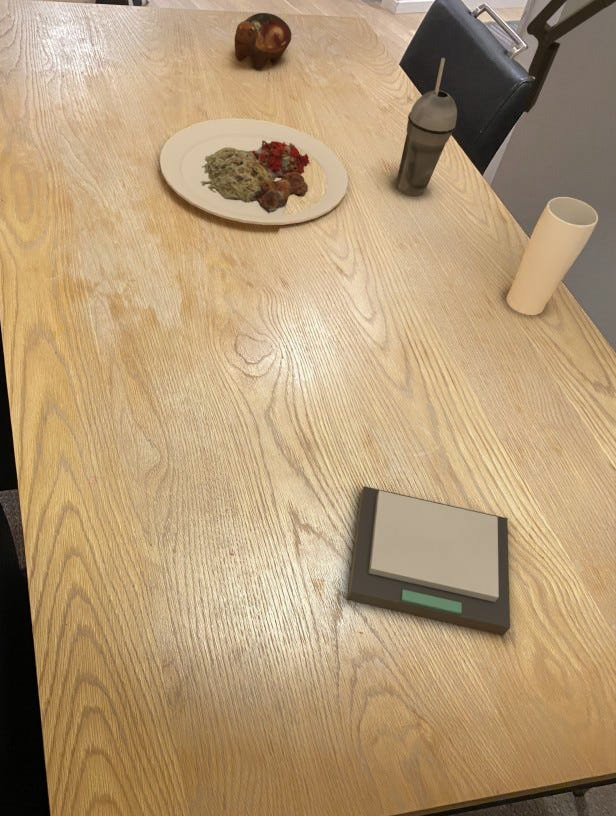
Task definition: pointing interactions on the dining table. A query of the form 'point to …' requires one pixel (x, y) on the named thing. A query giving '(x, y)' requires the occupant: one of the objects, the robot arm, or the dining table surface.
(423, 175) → the beverage cup
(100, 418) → the dining table surface
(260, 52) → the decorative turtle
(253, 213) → the plated food
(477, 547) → the scale
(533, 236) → the drinking glass
